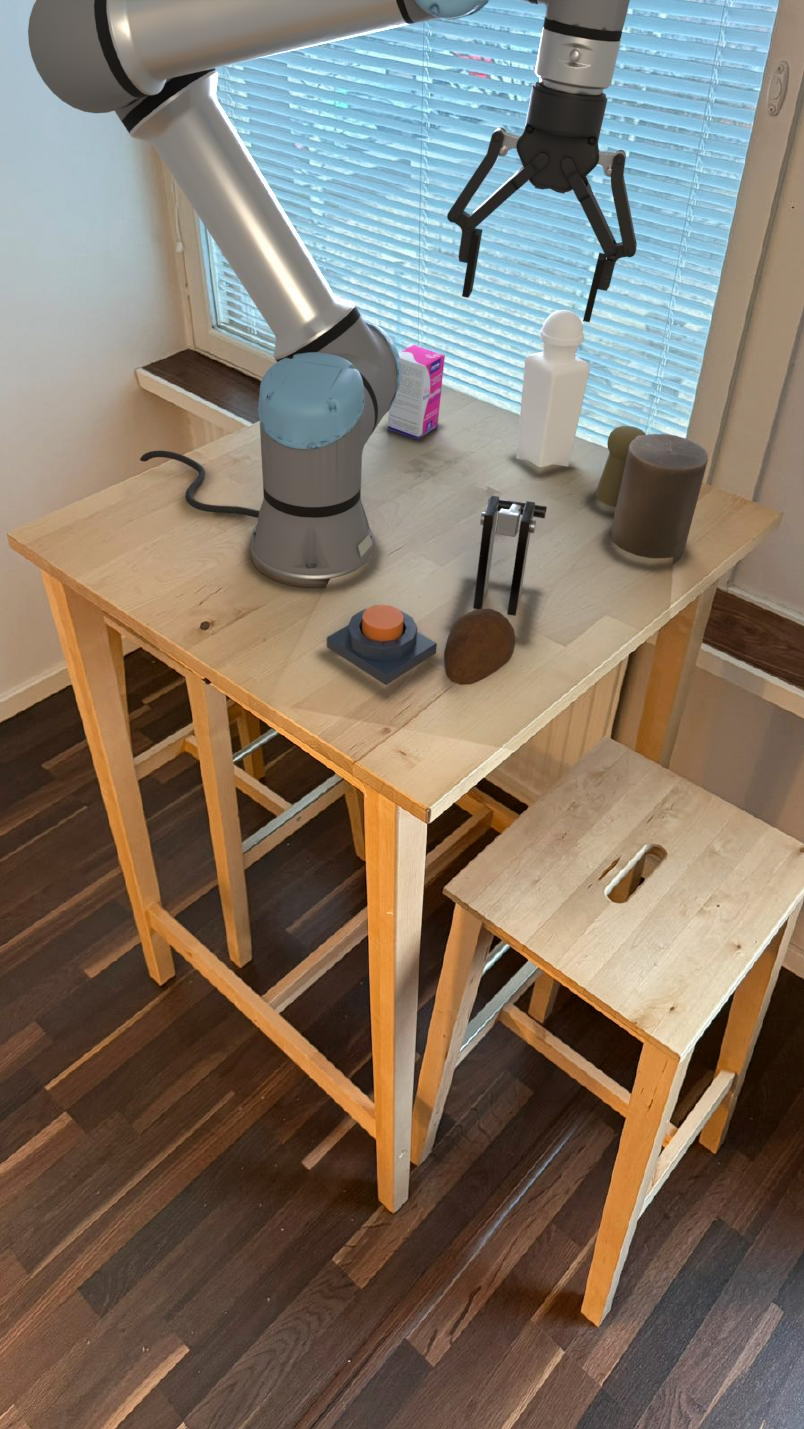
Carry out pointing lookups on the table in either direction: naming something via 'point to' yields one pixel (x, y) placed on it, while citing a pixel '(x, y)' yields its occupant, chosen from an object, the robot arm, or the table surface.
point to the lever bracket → (487, 548)
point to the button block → (382, 649)
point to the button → (382, 623)
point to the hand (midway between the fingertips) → (526, 306)
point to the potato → (478, 646)
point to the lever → (513, 516)
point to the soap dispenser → (553, 393)
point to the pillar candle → (658, 495)
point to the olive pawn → (616, 463)
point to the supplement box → (417, 393)
